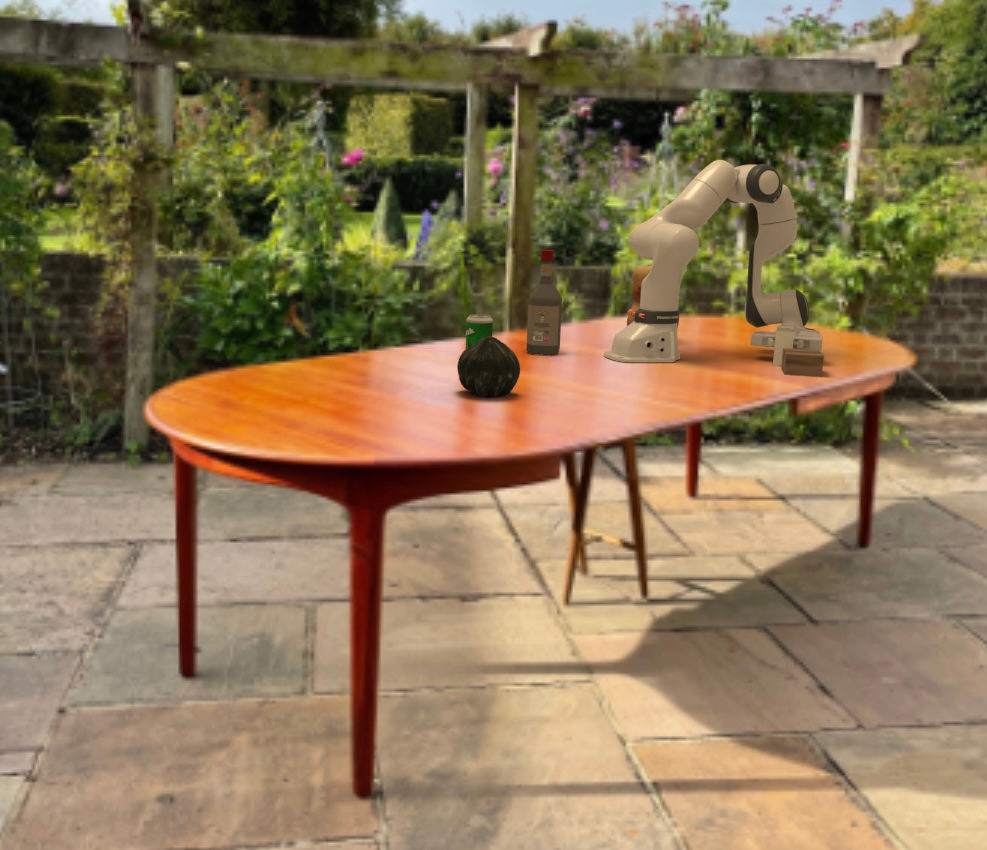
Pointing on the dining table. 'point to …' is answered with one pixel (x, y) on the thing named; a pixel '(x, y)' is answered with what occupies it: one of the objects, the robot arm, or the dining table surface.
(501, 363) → the squash
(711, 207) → the robot arm
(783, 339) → the tall cream box
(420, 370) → the dining table surface
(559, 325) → the liquor
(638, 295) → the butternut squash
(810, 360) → the walnut block
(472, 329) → the soda can
